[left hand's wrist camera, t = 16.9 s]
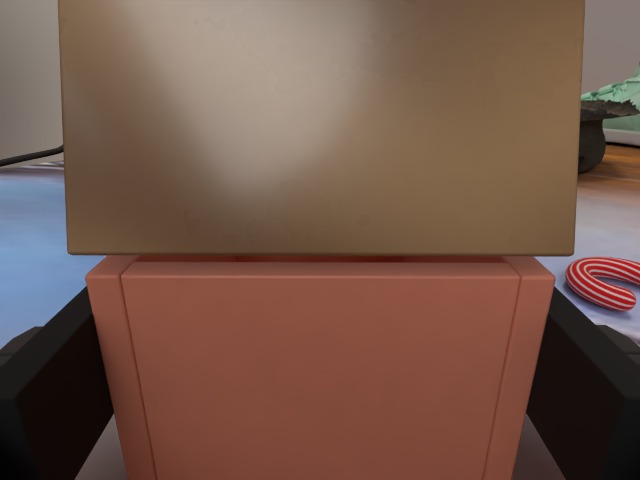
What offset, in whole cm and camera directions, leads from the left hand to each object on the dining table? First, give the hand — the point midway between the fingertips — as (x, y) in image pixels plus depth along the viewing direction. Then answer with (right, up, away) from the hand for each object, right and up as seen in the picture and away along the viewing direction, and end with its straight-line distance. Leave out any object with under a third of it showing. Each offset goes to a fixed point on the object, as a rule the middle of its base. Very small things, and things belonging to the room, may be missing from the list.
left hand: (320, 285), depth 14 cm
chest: (0, -6, +5) cm, 7 cm away
